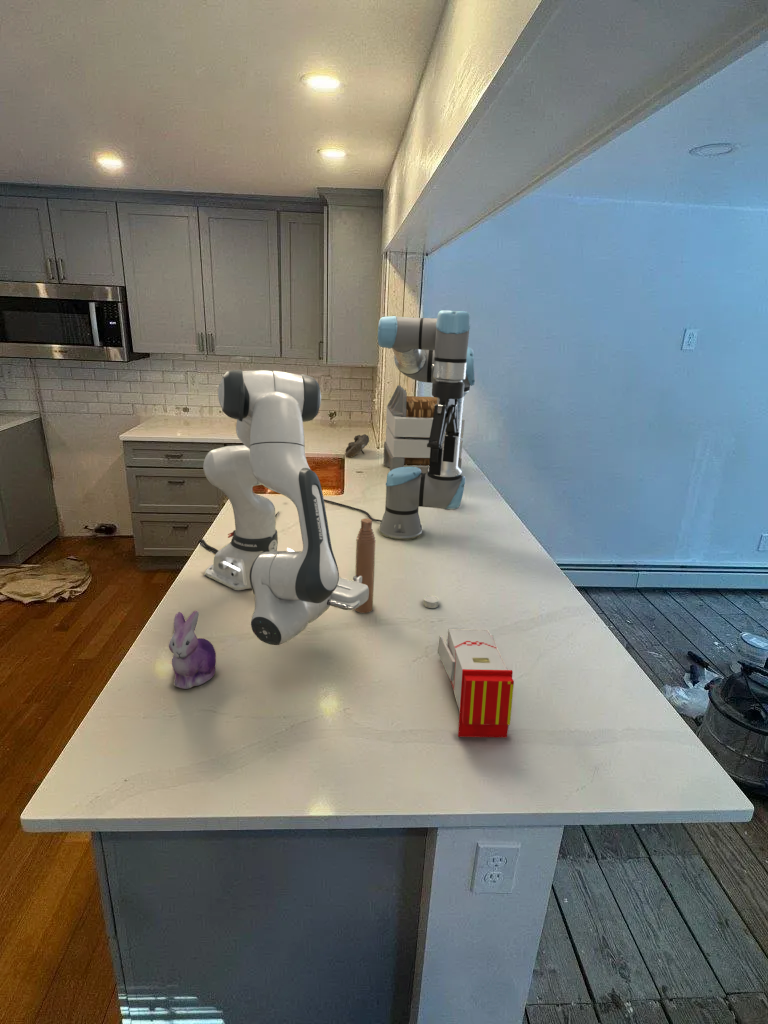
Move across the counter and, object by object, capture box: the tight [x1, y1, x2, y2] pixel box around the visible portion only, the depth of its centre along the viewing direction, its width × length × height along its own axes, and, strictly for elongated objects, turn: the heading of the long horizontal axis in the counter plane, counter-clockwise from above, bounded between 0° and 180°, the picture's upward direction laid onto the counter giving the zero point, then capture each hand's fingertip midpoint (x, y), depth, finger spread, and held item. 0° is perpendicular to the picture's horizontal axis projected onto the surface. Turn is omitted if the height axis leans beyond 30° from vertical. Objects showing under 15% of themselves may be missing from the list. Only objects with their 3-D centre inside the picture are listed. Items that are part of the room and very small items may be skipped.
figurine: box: [168, 610, 217, 690], centre depth 117 cm, size 9×10×15 cm
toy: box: [437, 628, 515, 738], centre depth 117 cm, size 12×13×30 cm
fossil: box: [344, 433, 370, 458], centre depth 304 cm, size 22×10×15 cm
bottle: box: [354, 517, 377, 614], centre depth 145 cm, size 5×5×25 cm
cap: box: [423, 595, 440, 609], centre depth 153 cm, size 4×4×2 cm
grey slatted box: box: [383, 384, 465, 472], centre depth 268 cm, size 34×33×41 cm
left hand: (342, 573), depth 135 cm, fingers open, 8 cm apart
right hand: (441, 467), depth 140 cm, fingers open, 13 cm apart
